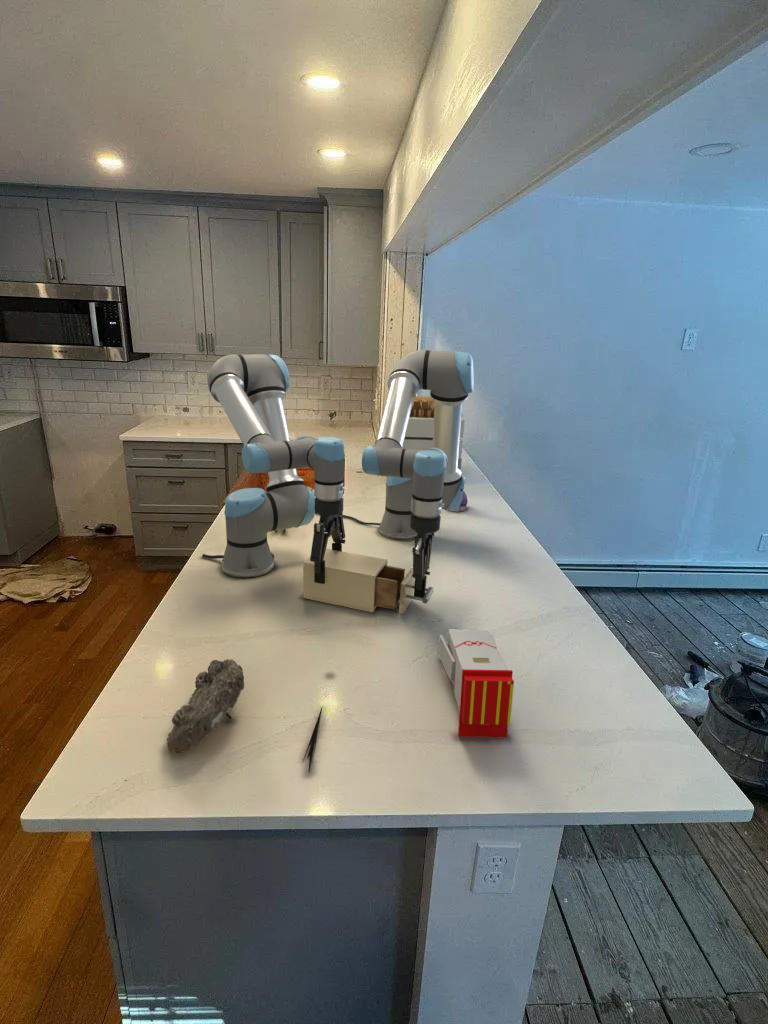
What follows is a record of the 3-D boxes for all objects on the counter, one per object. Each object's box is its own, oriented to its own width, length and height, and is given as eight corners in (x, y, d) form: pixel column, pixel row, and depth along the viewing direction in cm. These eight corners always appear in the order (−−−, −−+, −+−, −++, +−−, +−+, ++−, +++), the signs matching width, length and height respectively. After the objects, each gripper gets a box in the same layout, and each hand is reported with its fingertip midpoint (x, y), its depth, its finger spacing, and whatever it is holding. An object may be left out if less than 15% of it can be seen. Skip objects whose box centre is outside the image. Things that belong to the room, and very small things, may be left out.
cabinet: (385, 593, 158) (387, 559, 154) (372, 612, 148) (374, 576, 144) (319, 580, 163) (320, 547, 159) (303, 597, 153) (303, 562, 150)
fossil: (192, 660, 117) (244, 628, 112) (224, 691, 120) (276, 661, 115) (142, 746, 98) (202, 712, 93) (182, 779, 101) (242, 748, 96)
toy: (488, 613, 130) (523, 677, 101) (484, 667, 133) (517, 744, 104) (435, 612, 130) (455, 676, 101) (432, 666, 133) (451, 743, 103)
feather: (331, 679, 122) (336, 673, 122) (307, 777, 96) (313, 769, 95) (324, 675, 122) (329, 669, 121) (298, 772, 95) (304, 764, 95)
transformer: (382, 463, 289) (386, 382, 275) (445, 464, 293) (451, 384, 279) (390, 482, 257) (394, 392, 243) (460, 483, 261) (468, 394, 247)
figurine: (454, 513, 222) (457, 476, 217) (439, 505, 230) (442, 470, 225) (473, 510, 226) (477, 474, 221) (459, 503, 234) (462, 468, 229)
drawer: (433, 601, 153) (436, 572, 150) (425, 618, 144) (427, 588, 141) (349, 584, 160) (349, 556, 157) (335, 600, 151) (336, 571, 148)
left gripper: (324, 513, 136) (323, 595, 143) (358, 487, 157) (356, 559, 164) (295, 509, 138) (296, 589, 145) (333, 483, 159) (332, 555, 166)
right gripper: (434, 524, 133) (426, 612, 142) (446, 508, 145) (438, 590, 153) (403, 519, 136) (398, 606, 144) (418, 503, 147) (412, 585, 155)
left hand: (328, 573), depth 155 cm, fingers closed on cabinet, 11 cm apart
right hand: (419, 598), depth 148 cm, fingers closed
